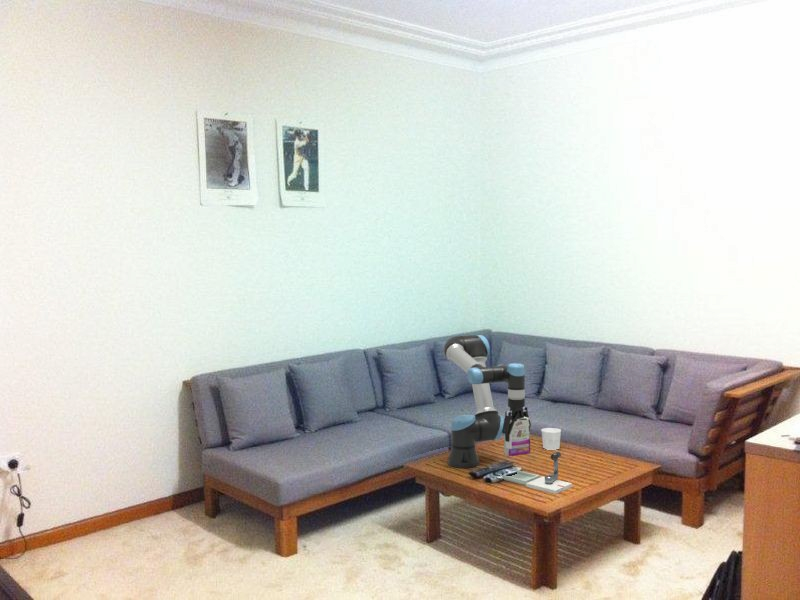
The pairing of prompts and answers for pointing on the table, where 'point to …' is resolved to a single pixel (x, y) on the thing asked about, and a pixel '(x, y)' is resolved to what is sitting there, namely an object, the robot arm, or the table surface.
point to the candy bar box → (519, 438)
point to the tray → (520, 477)
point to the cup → (551, 438)
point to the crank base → (549, 485)
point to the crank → (554, 476)
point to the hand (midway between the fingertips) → (516, 445)
